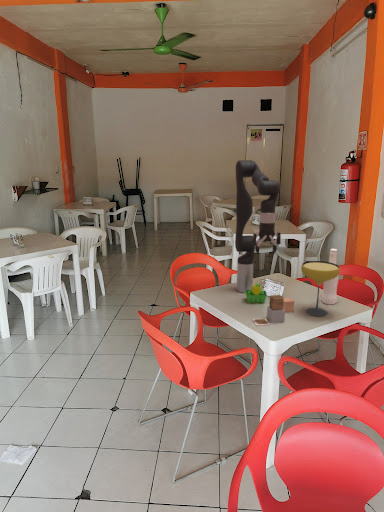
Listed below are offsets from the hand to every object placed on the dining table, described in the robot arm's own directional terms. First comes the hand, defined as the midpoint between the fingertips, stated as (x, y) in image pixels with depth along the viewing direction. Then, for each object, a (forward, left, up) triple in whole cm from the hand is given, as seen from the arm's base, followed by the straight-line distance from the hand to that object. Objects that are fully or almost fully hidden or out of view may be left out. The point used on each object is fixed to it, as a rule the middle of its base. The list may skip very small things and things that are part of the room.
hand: (265, 252), depth 197 cm
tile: (+17, -7, -30) cm, 35 cm away
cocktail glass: (+10, +25, -30) cm, 41 cm away
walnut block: (+15, +1, -24) cm, 28 cm away
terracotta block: (+5, +11, -30) cm, 33 cm away
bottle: (-2, +38, -30) cm, 49 cm away
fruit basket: (-10, -1, -30) cm, 32 cm away
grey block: (+15, +1, -30) cm, 34 cm away
